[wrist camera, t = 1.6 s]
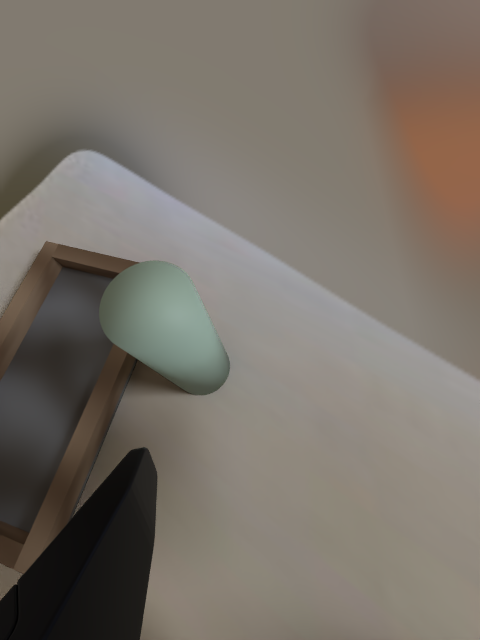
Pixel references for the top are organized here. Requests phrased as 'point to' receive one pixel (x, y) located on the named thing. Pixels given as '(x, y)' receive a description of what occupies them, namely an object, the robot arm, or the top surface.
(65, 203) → the top surface
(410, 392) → the top surface
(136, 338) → the post
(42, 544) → the brown wooden flat tray
